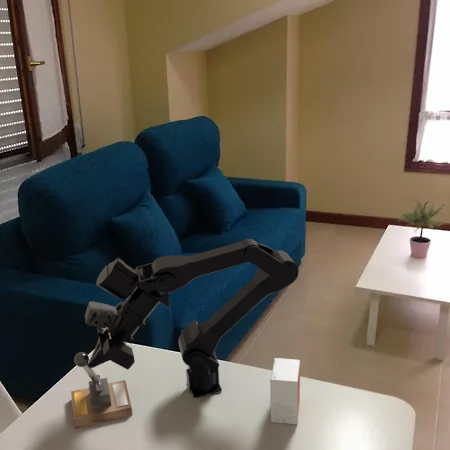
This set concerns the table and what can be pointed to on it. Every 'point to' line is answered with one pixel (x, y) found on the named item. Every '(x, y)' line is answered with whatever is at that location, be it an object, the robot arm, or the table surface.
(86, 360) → the lever
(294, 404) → the small box
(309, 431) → the table surface
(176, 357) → the table surface
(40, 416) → the table surface
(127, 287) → the robot arm
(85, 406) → the switch unit
